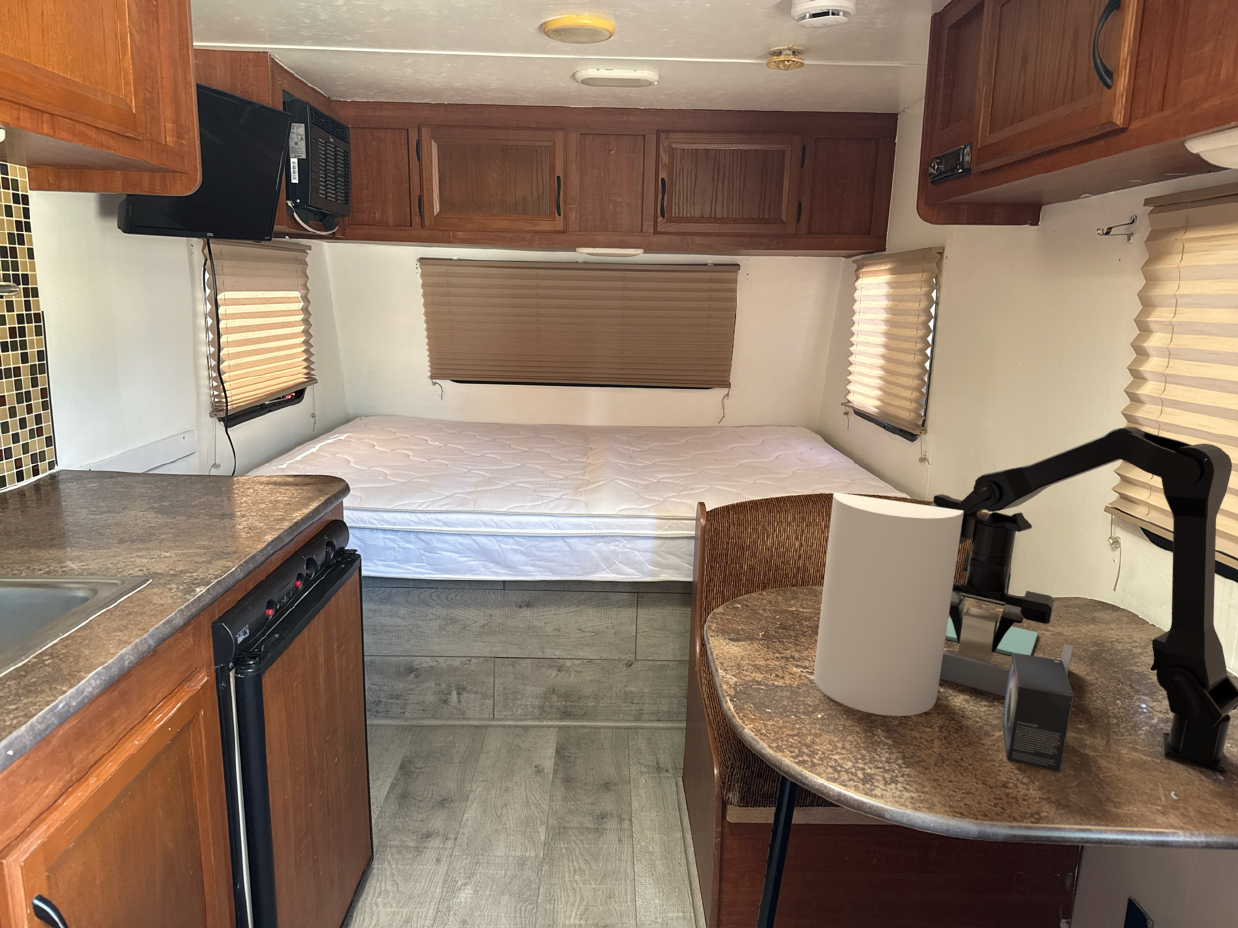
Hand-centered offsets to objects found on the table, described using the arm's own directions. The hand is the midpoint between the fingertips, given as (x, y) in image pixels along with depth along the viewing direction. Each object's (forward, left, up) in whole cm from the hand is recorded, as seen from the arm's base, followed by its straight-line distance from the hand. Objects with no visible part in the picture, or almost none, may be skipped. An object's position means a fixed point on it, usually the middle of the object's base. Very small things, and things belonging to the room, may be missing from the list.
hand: (976, 647), depth 126 cm
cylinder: (-17, +11, -3) cm, 21 cm away
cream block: (0, 0, -2) cm, 2 cm away
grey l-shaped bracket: (0, 0, -3) cm, 3 cm away
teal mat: (+14, 0, -3) cm, 14 cm away
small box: (-21, -10, -3) cm, 23 cm away
